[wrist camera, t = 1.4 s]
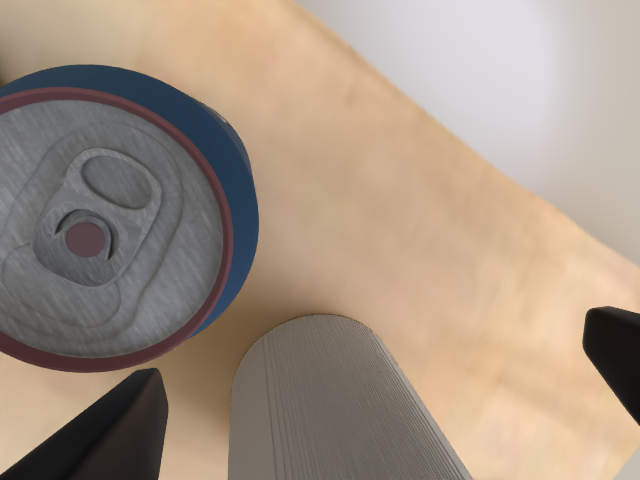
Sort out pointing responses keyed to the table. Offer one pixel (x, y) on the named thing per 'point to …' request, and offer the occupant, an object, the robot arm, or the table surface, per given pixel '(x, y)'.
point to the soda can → (116, 218)
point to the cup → (331, 410)
